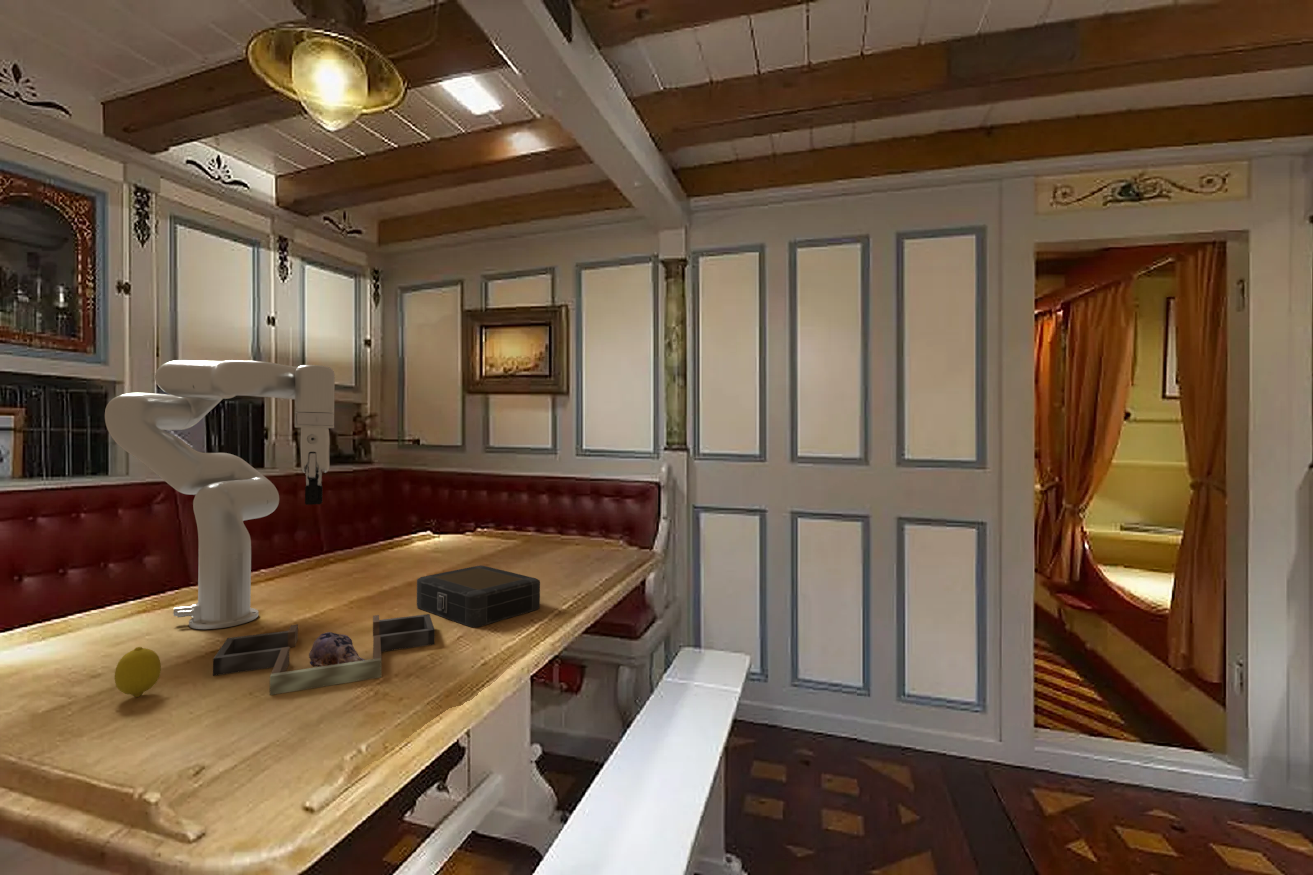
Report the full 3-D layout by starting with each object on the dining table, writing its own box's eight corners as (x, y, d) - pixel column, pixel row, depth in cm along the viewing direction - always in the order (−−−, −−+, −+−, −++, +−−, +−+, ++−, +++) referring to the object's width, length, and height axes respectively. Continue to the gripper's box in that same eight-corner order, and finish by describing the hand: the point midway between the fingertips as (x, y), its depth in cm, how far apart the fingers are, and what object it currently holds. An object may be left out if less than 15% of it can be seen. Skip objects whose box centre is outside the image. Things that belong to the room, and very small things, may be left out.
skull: (377, 672, 103) (377, 638, 103) (333, 686, 97) (333, 650, 97) (344, 656, 110) (345, 624, 110) (301, 669, 104) (301, 635, 104)
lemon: (168, 692, 94) (169, 643, 94) (128, 707, 89) (128, 655, 89) (146, 687, 96) (147, 639, 96) (105, 701, 91) (106, 650, 91)
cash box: (411, 609, 141) (411, 577, 141) (481, 592, 157) (481, 564, 157) (471, 631, 126) (472, 596, 126) (542, 609, 142) (542, 578, 142)
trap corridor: (192, 707, 89) (192, 687, 89) (231, 647, 114) (231, 631, 114) (441, 667, 105) (441, 651, 105) (427, 622, 130) (427, 609, 130)
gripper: (332, 421, 122) (331, 507, 122) (335, 422, 136) (334, 500, 136) (290, 420, 119) (289, 508, 119) (298, 421, 132) (297, 501, 132)
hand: (313, 503), depth 127 cm, fingers closed
